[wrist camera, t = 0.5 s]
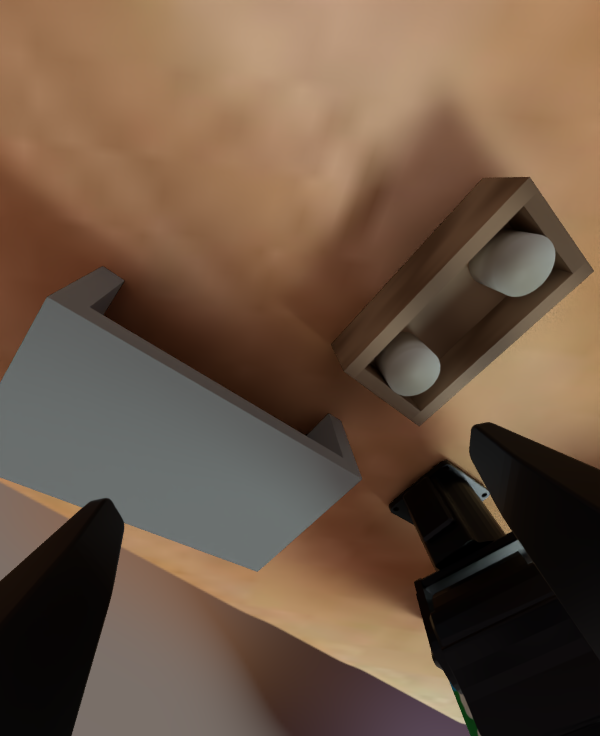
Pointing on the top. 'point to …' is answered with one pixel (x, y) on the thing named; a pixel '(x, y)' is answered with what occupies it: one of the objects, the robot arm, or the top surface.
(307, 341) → the top surface
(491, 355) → the walnut tray
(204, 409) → the grey shelf
